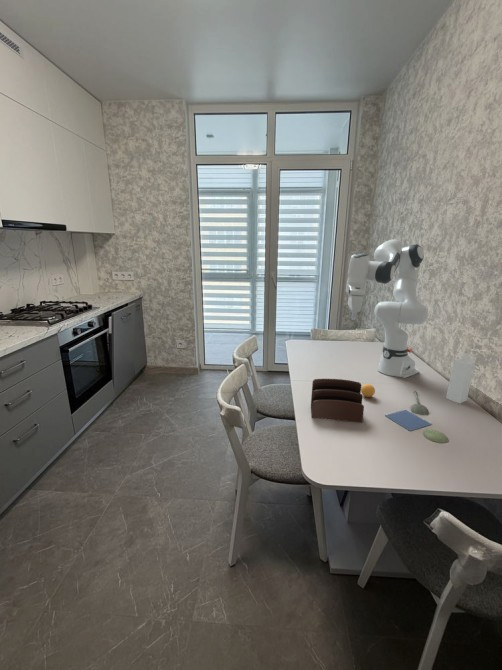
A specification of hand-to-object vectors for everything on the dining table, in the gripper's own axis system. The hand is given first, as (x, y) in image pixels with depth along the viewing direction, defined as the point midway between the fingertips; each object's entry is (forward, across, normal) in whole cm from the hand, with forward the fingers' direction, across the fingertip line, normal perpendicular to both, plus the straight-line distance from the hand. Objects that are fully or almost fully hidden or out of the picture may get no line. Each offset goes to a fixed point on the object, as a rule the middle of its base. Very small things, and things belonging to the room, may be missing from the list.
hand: (352, 317), depth 149 cm
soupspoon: (+34, +16, +30) cm, 48 cm away
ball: (+31, +14, +9) cm, 35 cm away
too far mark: (+33, +42, +29) cm, 61 cm away
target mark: (+33, +32, +22) cm, 51 cm away
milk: (+33, +8, +49) cm, 60 cm away
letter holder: (+34, +33, -6) cm, 48 cm away
